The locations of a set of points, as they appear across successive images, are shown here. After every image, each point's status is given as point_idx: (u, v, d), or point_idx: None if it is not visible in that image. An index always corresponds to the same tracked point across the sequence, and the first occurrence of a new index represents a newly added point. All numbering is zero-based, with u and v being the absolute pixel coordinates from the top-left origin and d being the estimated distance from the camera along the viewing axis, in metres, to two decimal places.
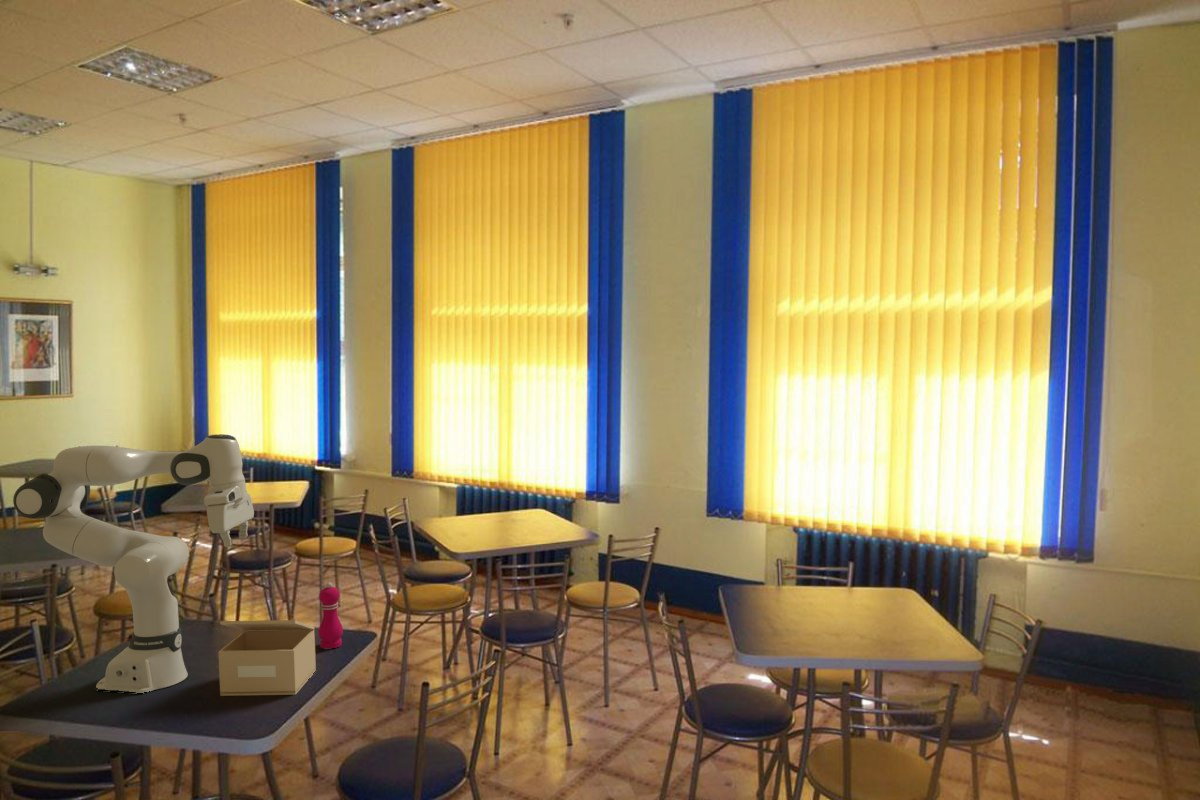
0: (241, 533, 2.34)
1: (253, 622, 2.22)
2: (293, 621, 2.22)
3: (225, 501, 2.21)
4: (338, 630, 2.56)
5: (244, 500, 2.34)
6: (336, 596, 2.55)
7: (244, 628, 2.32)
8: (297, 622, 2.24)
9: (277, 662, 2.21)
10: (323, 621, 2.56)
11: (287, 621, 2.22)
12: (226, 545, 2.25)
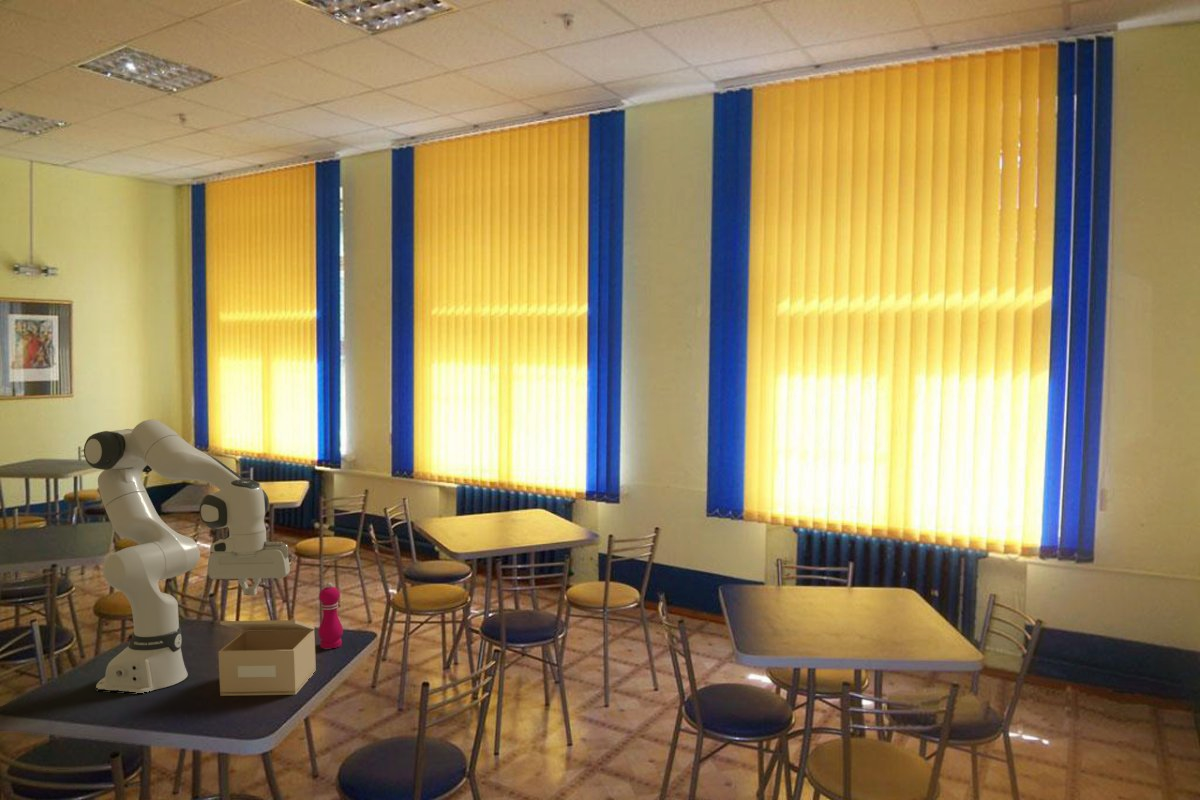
0: None
1: (253, 622, 2.22)
2: (293, 621, 2.22)
3: None
4: (338, 630, 2.56)
5: (263, 556, 2.16)
6: (336, 596, 2.55)
7: (244, 628, 2.32)
8: (297, 622, 2.24)
9: (277, 662, 2.21)
10: (323, 621, 2.56)
11: (287, 621, 2.22)
12: None
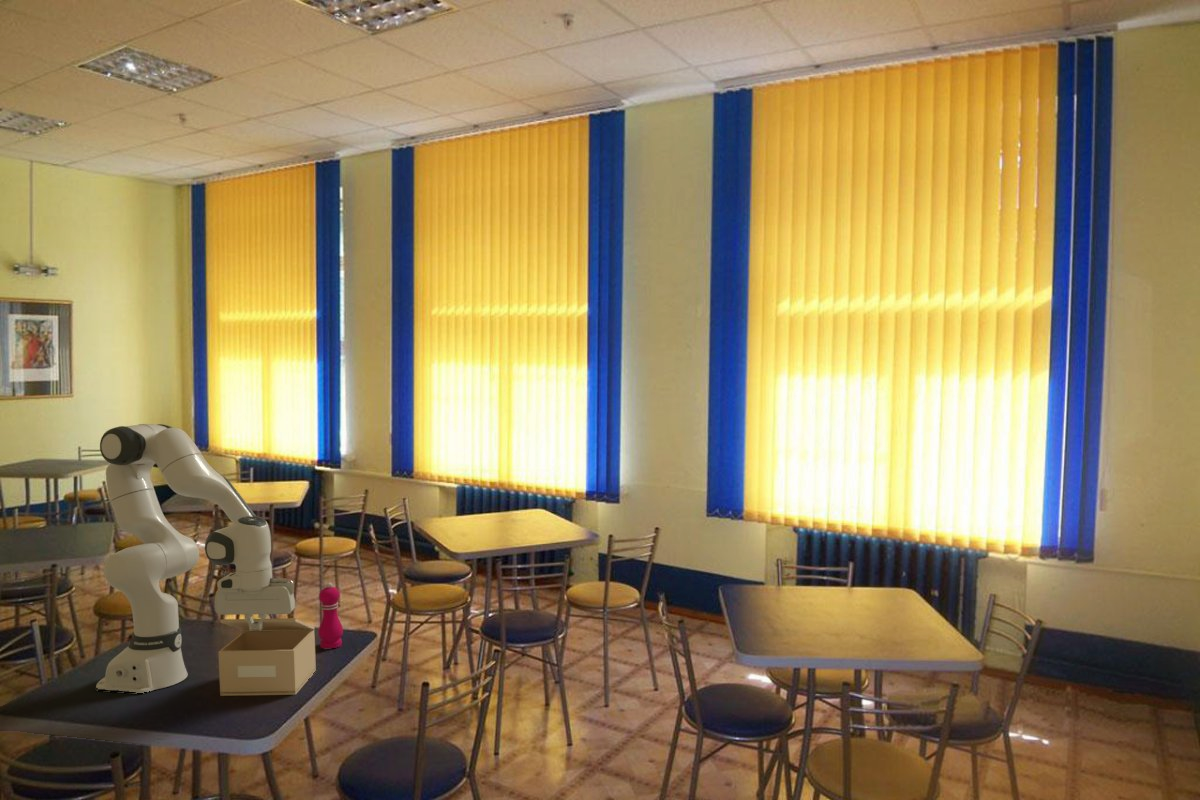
0: None
1: None
2: (293, 619, 2.23)
3: None
4: (338, 630, 2.56)
5: (269, 592, 2.19)
6: (336, 596, 2.55)
7: (244, 627, 2.32)
8: (297, 620, 2.24)
9: (277, 662, 2.21)
10: (323, 621, 2.56)
11: (287, 619, 2.23)
12: None
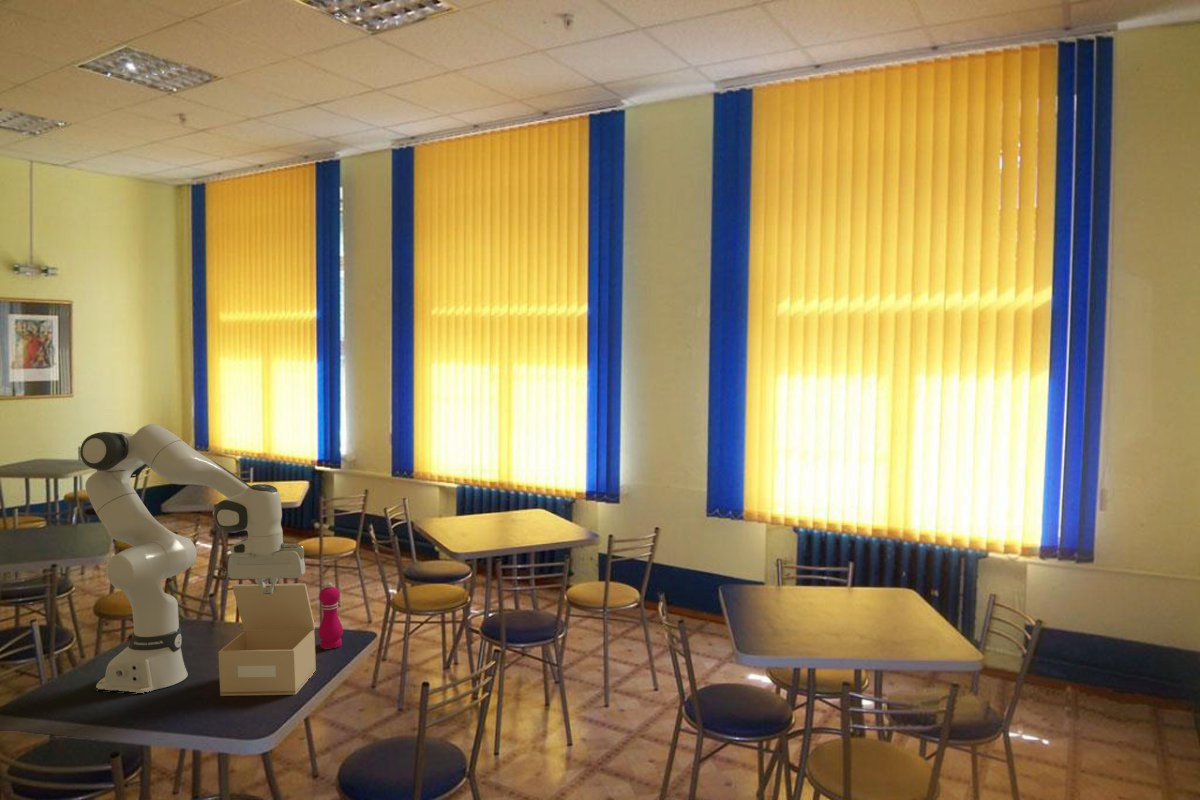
0: None
1: None
2: (303, 584, 2.30)
3: None
4: (338, 630, 2.56)
5: (280, 557, 2.27)
6: (336, 596, 2.55)
7: (248, 616, 2.35)
8: (306, 589, 2.31)
9: (277, 662, 2.21)
10: (323, 621, 2.56)
11: (297, 584, 2.30)
12: None
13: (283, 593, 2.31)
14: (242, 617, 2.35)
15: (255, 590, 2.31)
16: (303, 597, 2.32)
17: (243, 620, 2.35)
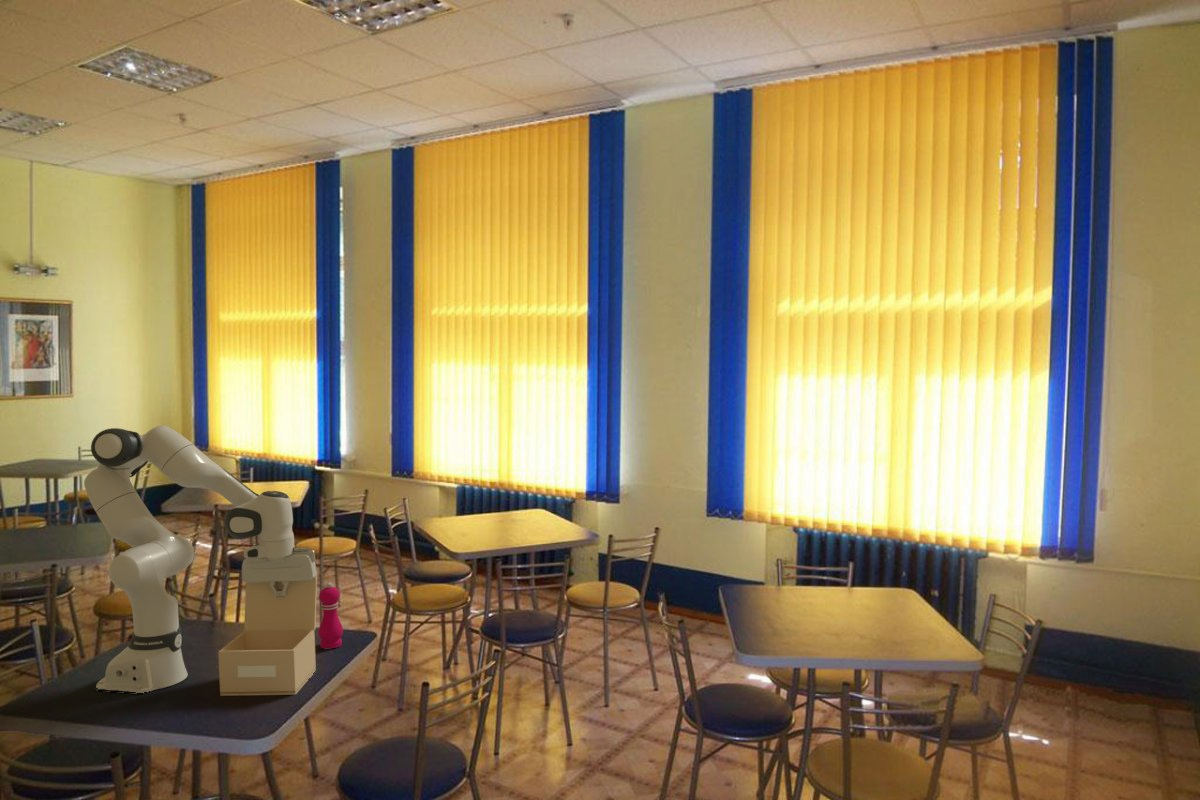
0: None
1: None
2: None
3: None
4: (338, 630, 2.56)
5: (292, 560, 2.35)
6: (336, 596, 2.55)
7: (252, 612, 2.38)
8: (316, 578, 2.39)
9: (277, 662, 2.21)
10: (323, 621, 2.56)
11: None
12: None
13: (293, 582, 2.39)
14: (246, 613, 2.38)
15: None
16: (311, 587, 2.39)
17: (246, 617, 2.38)
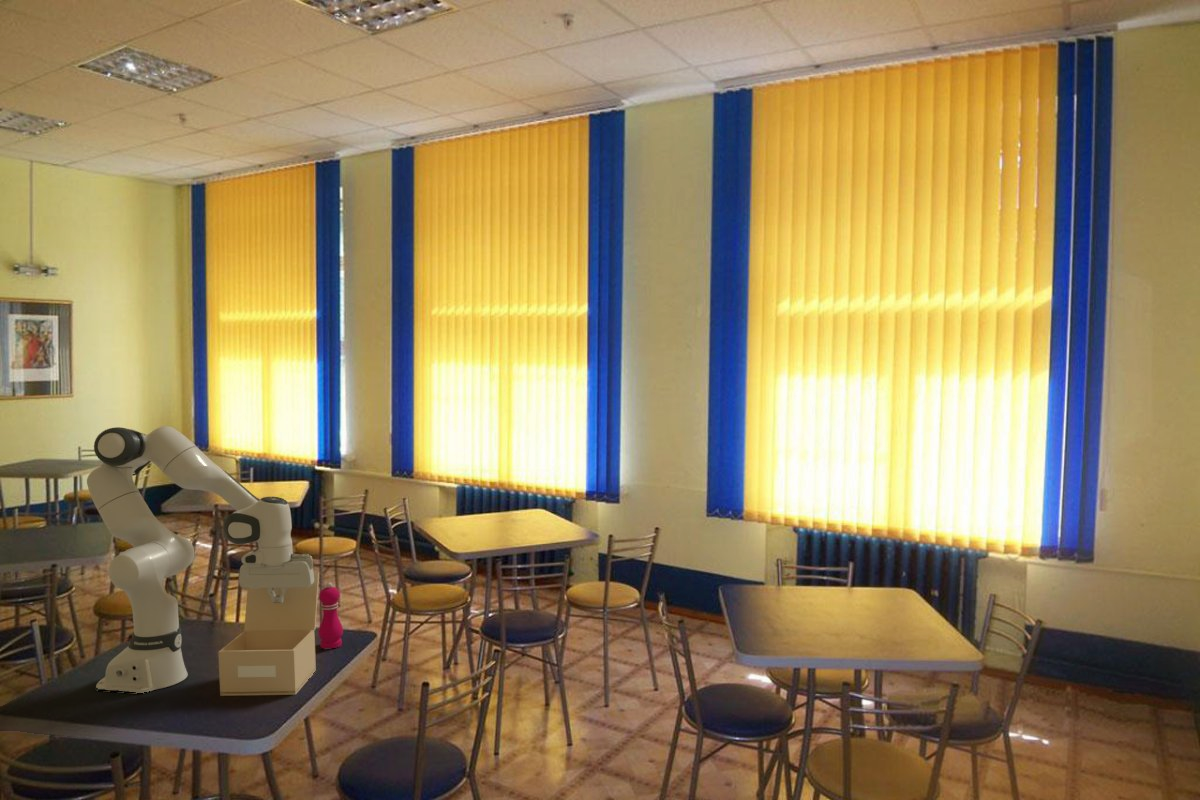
0: None
1: None
2: None
3: None
4: (338, 630, 2.56)
5: (290, 567, 2.34)
6: (336, 596, 2.55)
7: (253, 612, 2.38)
8: (318, 578, 2.41)
9: (277, 662, 2.21)
10: (323, 621, 2.56)
11: None
12: None
13: None
14: (247, 613, 2.38)
15: None
16: (313, 587, 2.40)
17: (247, 617, 2.38)
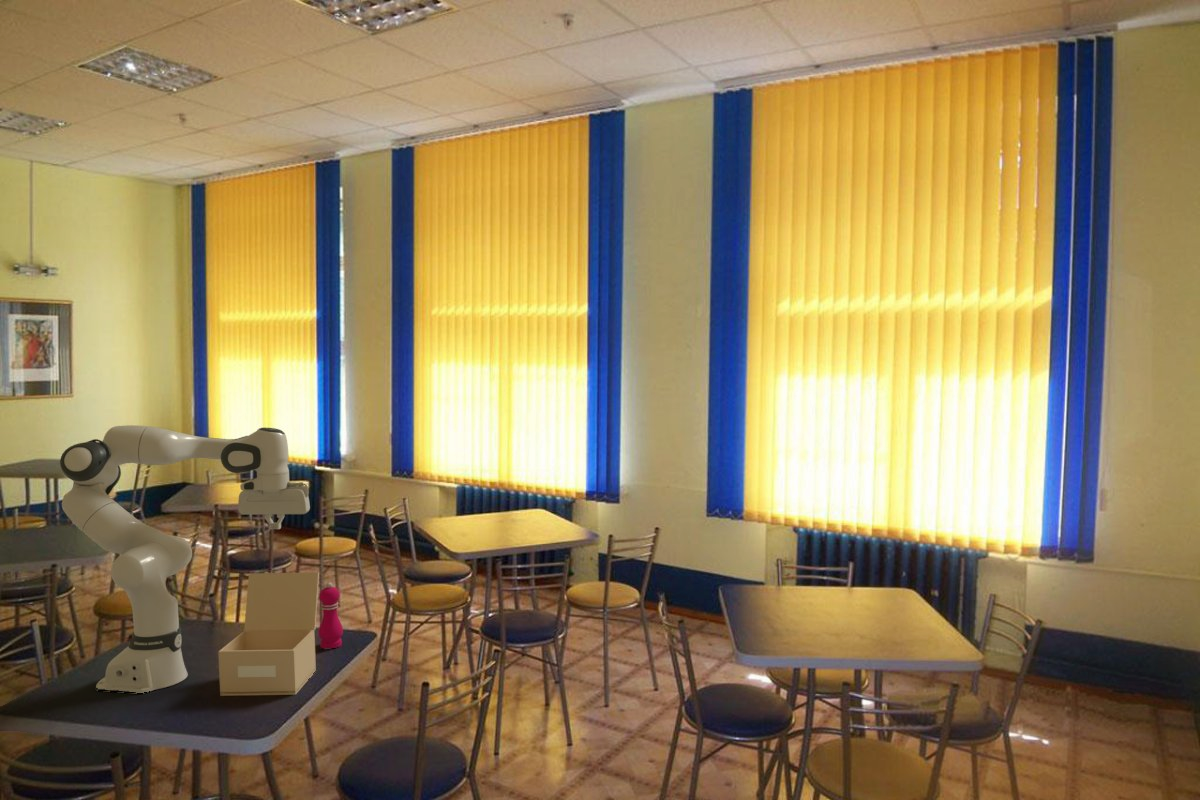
0: None
1: (280, 573, 2.41)
2: None
3: None
4: (338, 630, 2.56)
5: (287, 494, 2.44)
6: (336, 596, 2.55)
7: (253, 612, 2.38)
8: (318, 578, 2.41)
9: (277, 662, 2.21)
10: (323, 621, 2.56)
11: None
12: None
13: (295, 582, 2.40)
14: (247, 613, 2.38)
15: (269, 578, 2.41)
16: (313, 587, 2.40)
17: (247, 617, 2.38)
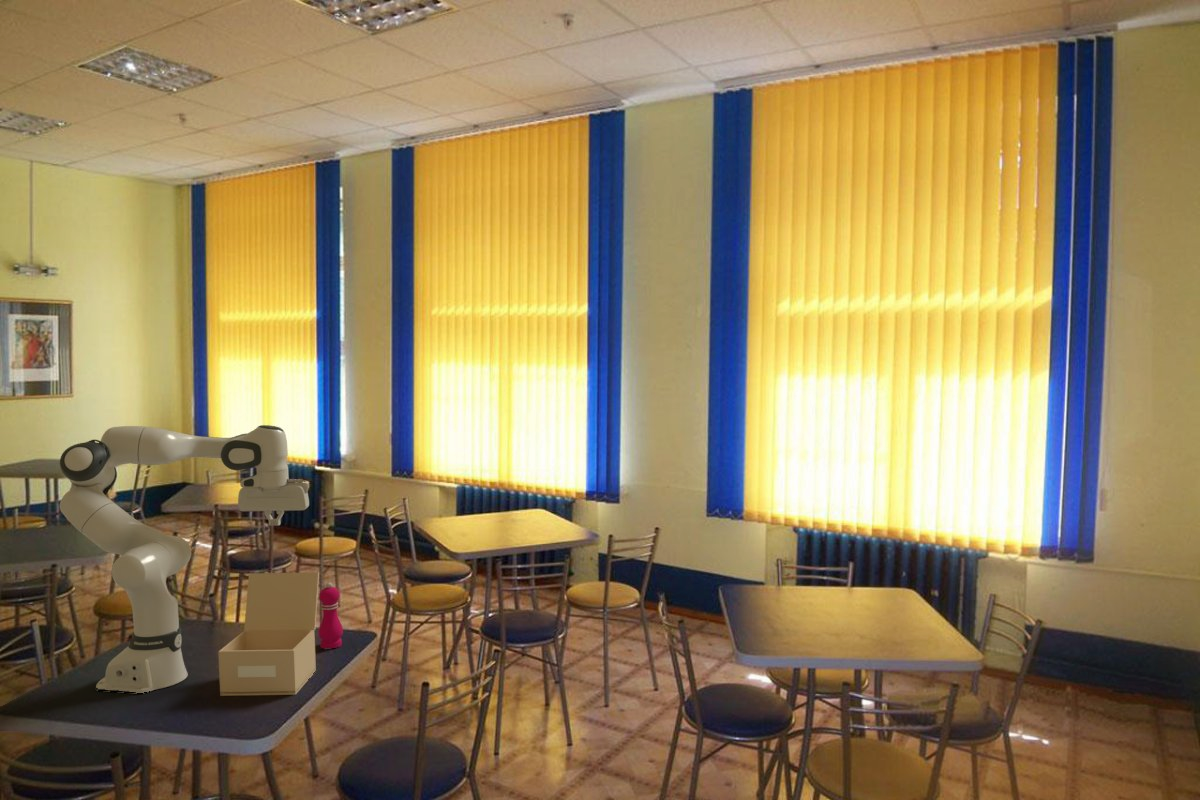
0: None
1: (280, 573, 2.41)
2: None
3: None
4: (338, 630, 2.56)
5: (286, 491, 2.48)
6: (336, 596, 2.55)
7: (253, 612, 2.38)
8: (318, 578, 2.41)
9: (277, 662, 2.21)
10: (323, 621, 2.56)
11: None
12: None
13: (295, 582, 2.40)
14: (247, 613, 2.38)
15: (269, 578, 2.41)
16: (313, 587, 2.40)
17: (247, 617, 2.38)
